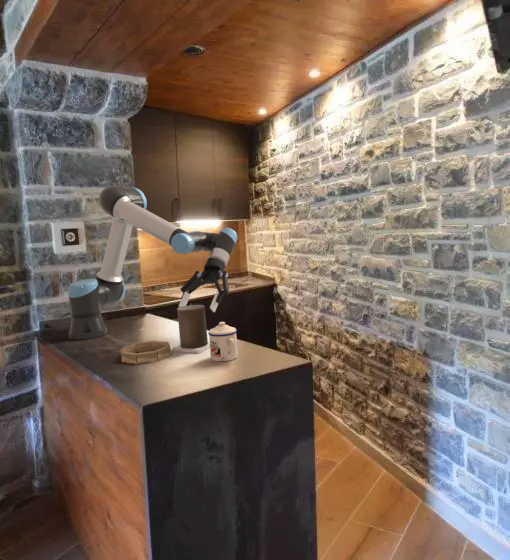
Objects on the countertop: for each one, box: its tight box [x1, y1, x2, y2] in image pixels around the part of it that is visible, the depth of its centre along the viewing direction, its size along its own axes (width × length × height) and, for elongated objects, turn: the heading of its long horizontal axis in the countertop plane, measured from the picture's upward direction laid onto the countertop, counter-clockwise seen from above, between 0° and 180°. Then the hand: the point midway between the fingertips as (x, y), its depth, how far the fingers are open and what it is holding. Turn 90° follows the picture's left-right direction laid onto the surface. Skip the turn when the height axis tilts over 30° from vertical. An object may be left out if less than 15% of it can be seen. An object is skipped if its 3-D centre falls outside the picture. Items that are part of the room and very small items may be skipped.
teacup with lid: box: [207, 321, 239, 362], centre depth 138 cm, size 12×9×12 cm
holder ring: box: [120, 340, 172, 365], centre depth 147 cm, size 16×16×3 cm
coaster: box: [172, 340, 210, 354], centre depth 154 cm, size 11×11×1 cm
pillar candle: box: [176, 302, 209, 348], centre depth 153 cm, size 10×10×15 cm
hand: (196, 309), depth 154 cm, fingers open, 13 cm apart
